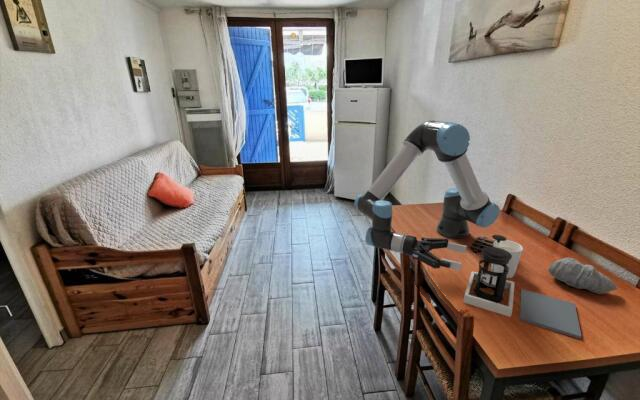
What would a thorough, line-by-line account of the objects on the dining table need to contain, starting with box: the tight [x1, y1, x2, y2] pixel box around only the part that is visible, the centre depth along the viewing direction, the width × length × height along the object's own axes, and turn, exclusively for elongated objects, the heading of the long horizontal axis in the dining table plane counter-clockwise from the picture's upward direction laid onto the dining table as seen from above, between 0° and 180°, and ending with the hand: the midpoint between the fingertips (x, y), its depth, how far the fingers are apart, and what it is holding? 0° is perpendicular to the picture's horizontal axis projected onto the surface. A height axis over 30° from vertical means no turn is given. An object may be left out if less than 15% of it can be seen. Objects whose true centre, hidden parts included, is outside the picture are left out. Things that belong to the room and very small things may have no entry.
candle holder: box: [490, 239, 524, 279], centre depth 119 cm, size 10×10×12 cm
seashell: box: [547, 257, 618, 295], centre depth 110 cm, size 16×15×10 cm
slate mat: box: [519, 289, 582, 340], centre depth 98 cm, size 15×17×1 cm
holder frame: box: [463, 271, 515, 318], centre depth 107 cm, size 14×17×3 cm
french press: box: [473, 234, 512, 304], centre depth 103 cm, size 12×9×23 cm
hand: (463, 257), depth 108 cm, fingers open, 13 cm apart
